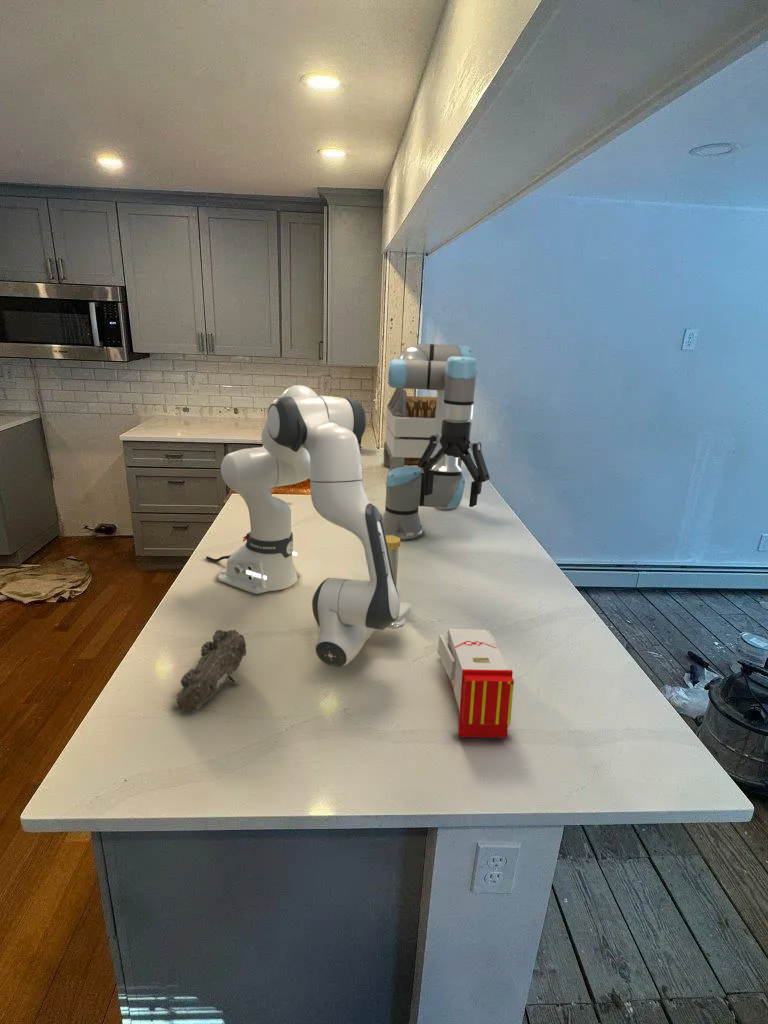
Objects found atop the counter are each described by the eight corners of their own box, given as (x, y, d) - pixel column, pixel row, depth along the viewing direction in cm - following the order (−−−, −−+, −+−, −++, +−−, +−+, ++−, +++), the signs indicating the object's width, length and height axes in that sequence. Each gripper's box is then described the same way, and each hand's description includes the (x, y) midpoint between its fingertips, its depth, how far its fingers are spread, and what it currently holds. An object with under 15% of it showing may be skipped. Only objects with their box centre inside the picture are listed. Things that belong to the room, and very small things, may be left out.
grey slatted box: (382, 463, 289) (386, 382, 275) (445, 464, 293) (451, 384, 279) (390, 482, 257) (394, 392, 243) (460, 483, 261) (468, 394, 247)
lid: (382, 550, 144) (382, 543, 143) (377, 541, 148) (377, 535, 148) (402, 548, 145) (402, 542, 144) (397, 540, 150) (397, 534, 149)
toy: (488, 613, 130) (523, 677, 101) (484, 667, 133) (517, 744, 104) (435, 612, 130) (455, 676, 101) (432, 666, 133) (451, 743, 103)
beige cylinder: (380, 608, 150) (383, 544, 144) (377, 600, 154) (379, 537, 148) (397, 607, 151) (400, 543, 145) (393, 599, 155) (396, 536, 149)
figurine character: (361, 456, 305) (361, 447, 319) (361, 443, 302) (362, 434, 315) (348, 456, 305) (350, 446, 318) (349, 442, 302) (350, 433, 315)
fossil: (198, 632, 128) (246, 601, 123) (228, 660, 130) (275, 631, 125) (154, 704, 108) (208, 671, 103) (190, 735, 111) (244, 705, 106)
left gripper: (402, 616, 128) (418, 590, 140) (319, 598, 134) (342, 574, 146) (400, 640, 130) (417, 612, 142) (319, 622, 136) (342, 596, 148)
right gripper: (508, 425, 139) (499, 507, 146) (423, 411, 153) (418, 487, 160) (495, 429, 133) (486, 514, 140) (407, 414, 147) (403, 492, 154)
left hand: (378, 593), depth 144 cm, fingers open, 8 cm apart
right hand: (450, 500), depth 150 cm, fingers open, 13 cm apart
